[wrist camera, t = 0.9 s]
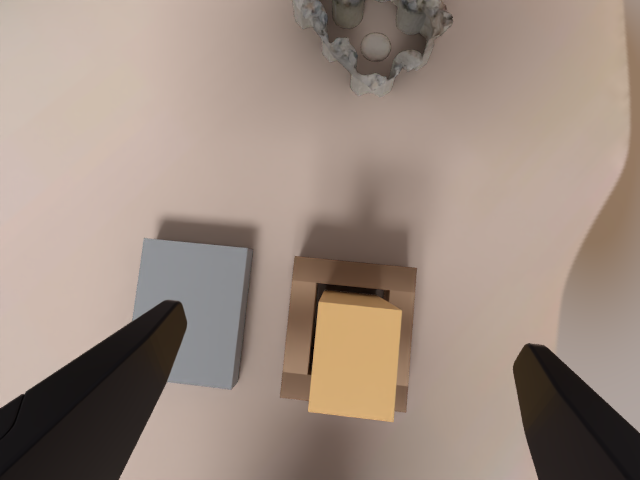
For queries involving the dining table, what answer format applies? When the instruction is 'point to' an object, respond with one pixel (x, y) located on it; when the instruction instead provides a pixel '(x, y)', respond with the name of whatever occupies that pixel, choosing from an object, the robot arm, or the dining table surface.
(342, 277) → the brown square frame
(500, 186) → the dining table surface
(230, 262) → the grey rubber mat
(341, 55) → the egg carton
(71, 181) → the dining table surface
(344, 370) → the amber plug
